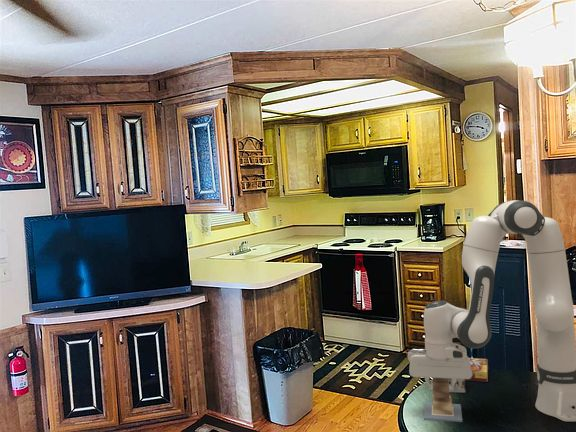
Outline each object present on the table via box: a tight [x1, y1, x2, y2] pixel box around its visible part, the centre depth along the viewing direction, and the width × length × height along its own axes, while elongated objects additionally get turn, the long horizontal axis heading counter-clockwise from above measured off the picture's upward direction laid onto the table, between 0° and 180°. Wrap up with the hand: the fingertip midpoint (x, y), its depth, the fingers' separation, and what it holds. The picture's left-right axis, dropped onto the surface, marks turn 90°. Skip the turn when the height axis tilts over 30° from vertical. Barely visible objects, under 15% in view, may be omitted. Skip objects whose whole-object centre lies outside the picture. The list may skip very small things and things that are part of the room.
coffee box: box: [448, 342, 466, 394], centre depth 184 cm, size 9×6×16 cm
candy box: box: [465, 357, 489, 383], centre depth 195 cm, size 9×4×15 cm
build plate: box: [423, 401, 463, 423], centre depth 165 cm, size 12×12×1 cm
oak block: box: [432, 394, 453, 415], centre depth 165 cm, size 6×6×4 cm
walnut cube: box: [432, 378, 450, 399], centre depth 164 cm, size 5×5×5 cm
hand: (441, 389), depth 164 cm, fingers closed on walnut cube, 5 cm apart
